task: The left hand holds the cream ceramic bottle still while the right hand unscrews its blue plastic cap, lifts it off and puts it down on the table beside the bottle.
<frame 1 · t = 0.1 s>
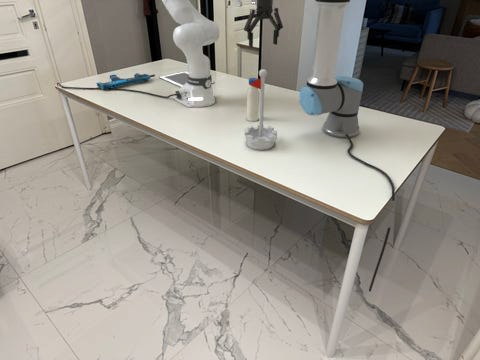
left hand: (246, 5, 137), 48 cm above the table, tool pointing down, fingers open, 8 cm apart
right hand: (263, 45, 167), 28 cm above the table, tool pointing down, fingers open, 13 cm apart
cap: (253, 79, 151), point 19 cm above the table, screwed on, not yet turned
flag stand: (260, 143, 139), on the table
bottle: (252, 119, 161), on the table
tablet: (186, 80, 213), on the table
submachine gun: (125, 82, 210), on the table
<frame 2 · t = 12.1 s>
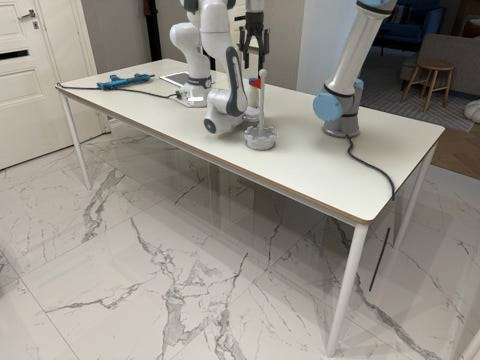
left hand: (253, 106, 158), 6 cm above the table, tool horizontal, fingers closed on bottle, 5 cm apart
right hand: (253, 69, 148), 23 cm above the table, tool pointing down, fingers open, 6 cm apart
bottle: (252, 119, 161), on the table, touching left hand
everything else where it was.
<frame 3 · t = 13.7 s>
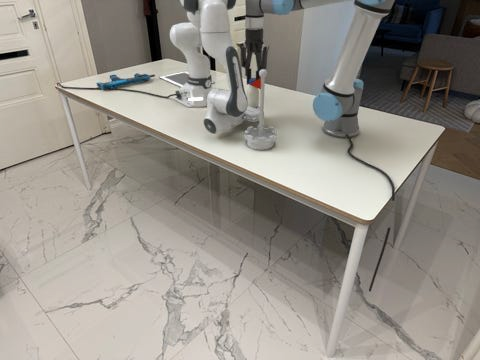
left hand: (253, 106, 158), 6 cm above the table, tool horizontal, fingers closed on bottle, 5 cm apart
right hand: (253, 84, 152), 17 cm above the table, tool pointing down, fingers closed on cap, 4 cm apart
cap: (253, 79, 151), point 19 cm above the table, screwed on, not yet turned, touching right hand
bottle: (252, 119, 161), on the table, touching left hand
everything else where it was.
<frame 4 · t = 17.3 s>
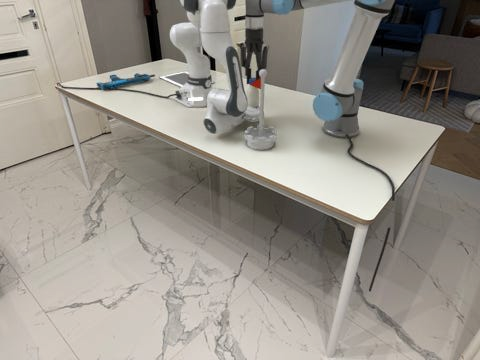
left hand: (253, 106, 158), 6 cm above the table, tool horizontal, fingers closed on bottle, 5 cm apart
right hand: (253, 84, 152), 17 cm above the table, tool pointing down, fingers closed on cap, 4 cm apart
cap: (253, 79, 151), point 19 cm above the table, turned 115° so far, risen 0.1 cm, still on its thread, touching right hand
bottle: (252, 119, 161), on the table, touching left hand
everything else where it was.
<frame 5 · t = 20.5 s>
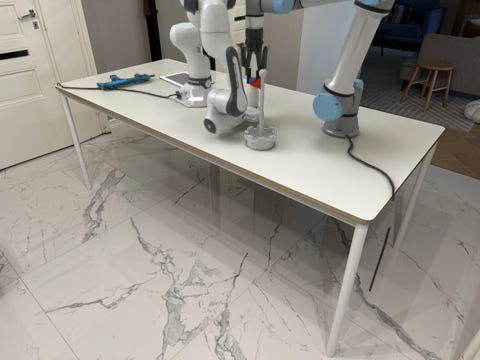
left hand: (253, 106, 158), 6 cm above the table, tool horizontal, fingers closed on bottle, 5 cm apart
right hand: (253, 83, 152), 17 cm above the table, tool pointing down, fingers closed on cap, 4 cm apart
cap: (253, 79, 151), point 19 cm above the table, turned 229° so far, risen 0.2 cm, still on its thread, touching right hand
bottle: (252, 119, 161), on the table, touching left hand
everything else where it was.
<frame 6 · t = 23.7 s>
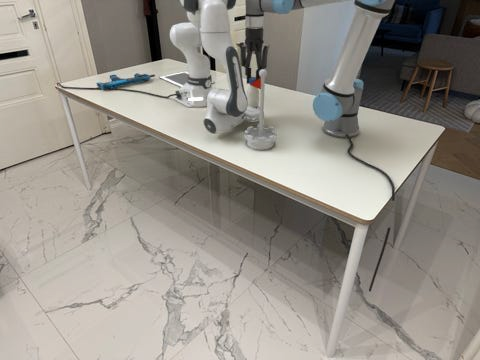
left hand: (253, 106, 158), 6 cm above the table, tool horizontal, fingers closed on bottle, 5 cm apart
right hand: (253, 83, 152), 17 cm above the table, tool pointing down, fingers closed on cap, 4 cm apart
cap: (253, 78, 151), point 19 cm above the table, turned 344° so far, risen 0.4 cm, still on its thread, touching right hand
bottle: (252, 119, 161), on the table, touching left hand
everything else where it was.
when the right hand's fingers open (1 cm above the table, at t = 29.6 s): cap drops 1 cm, point 2 cm above the table.
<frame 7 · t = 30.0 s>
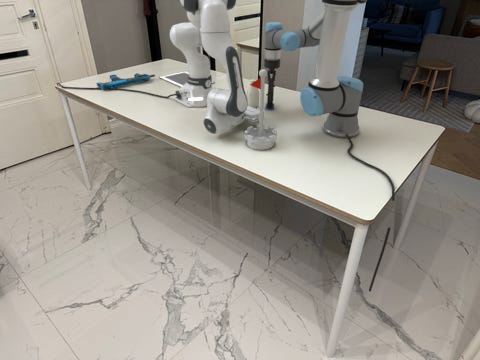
left hand: (253, 106, 158), 6 cm above the table, tool horizontal, fingers closed on bottle, 5 cm apart
right hand: (270, 103, 171), 2 cm above the table, tool pointing down, fingers open, 10 cm apart
cap: (270, 104, 171), point 2 cm above the table, off its thread
bottle: (252, 119, 161), on the table, touching left hand
everything else where it was.
when the left hand's fingers open (6 cm above the table, at t = 31.0 s): bottle stays where it is, on the table.
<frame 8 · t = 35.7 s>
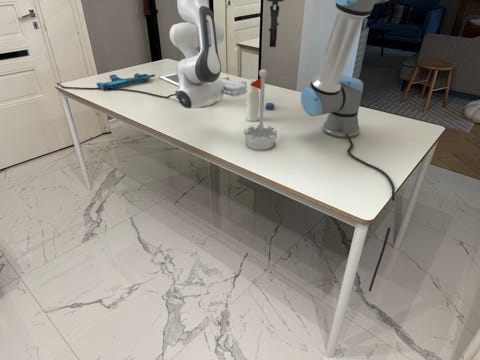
left hand: (236, 81, 143), 21 cm above the table, tool horizontal, fingers open, 8 cm apart
right hand: (273, 43, 155), 31 cm above the table, tool pointing down, fingers open, 13 cm apart
bottle: (252, 119, 161), on the table
everything else where it was.
at the end: cap came off its thread; cap point 2.0 cm above the table; the left hand is holding nothing; the right hand is holding nothing; bottle tilted 0°; bottle moved 0.0 cm from its start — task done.
